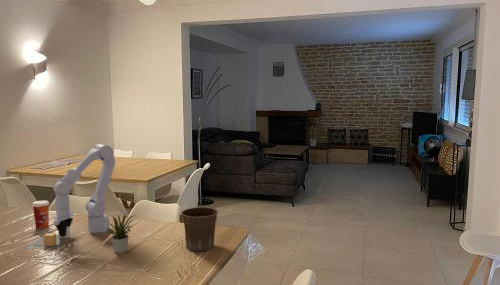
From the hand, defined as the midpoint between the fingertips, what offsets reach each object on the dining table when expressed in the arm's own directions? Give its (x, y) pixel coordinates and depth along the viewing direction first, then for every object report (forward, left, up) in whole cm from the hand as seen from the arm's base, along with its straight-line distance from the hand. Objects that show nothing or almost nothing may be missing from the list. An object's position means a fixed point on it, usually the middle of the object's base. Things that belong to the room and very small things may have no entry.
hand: (64, 235), depth 180 cm
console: (+4, +5, -2) cm, 7 cm away
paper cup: (+19, -16, -2) cm, 25 cm away
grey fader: (0, 0, -1) cm, 1 cm away
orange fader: (+2, +10, -1) cm, 10 cm away
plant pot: (-65, +9, -2) cm, 66 cm away
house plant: (-32, +13, -2) cm, 35 cm away
